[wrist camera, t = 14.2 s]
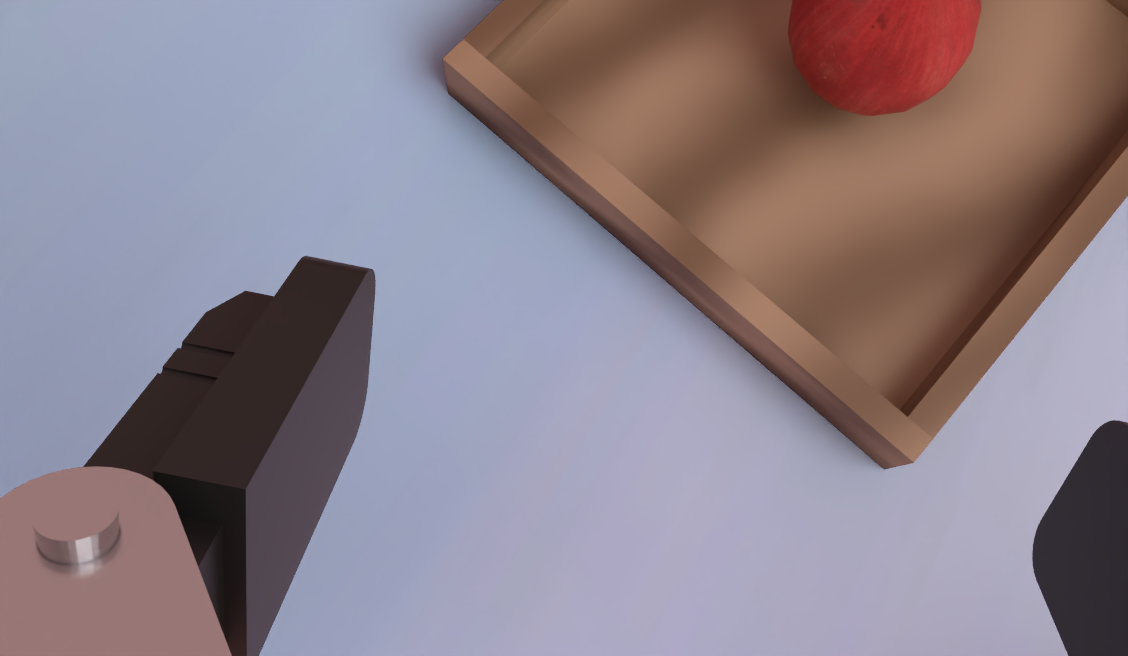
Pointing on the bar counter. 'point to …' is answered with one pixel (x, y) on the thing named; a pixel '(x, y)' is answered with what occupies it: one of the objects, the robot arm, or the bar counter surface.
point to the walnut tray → (823, 183)
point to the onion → (881, 49)
